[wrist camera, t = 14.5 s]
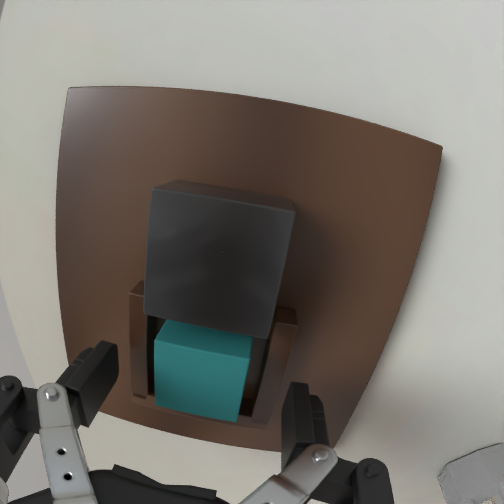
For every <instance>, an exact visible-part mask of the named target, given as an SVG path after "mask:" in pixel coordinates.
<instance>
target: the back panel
mask: <svg viewBox="0 0 504 504" xmlns="http://www.w3.org/2000/svg"><path fill="white" fill-rule="evenodd" d="M442 149H443V147H442V146H441V145H438V144H435V143H433V142H430V141H427V140H424V139H421V138H419V137H416V136H413V135H410V134H407V133H404V132H401V131H398V130H395V129H391V128H388V127H385V126H382V125H378V124H375V123H371V122H368V121H364V120H361V119H357V118H353V117H350V116H346V115H342V114H338V113H334V112H329V111H325V110H321V109H316V108H312V107H307V106H302V105H298V104H293V103H287V102H282V101H277V100H271V99H265V98H259V97H252V96H245V95H238V94H231V93H223V92H214V91H204V90H194V89H181V88H166V87H143V86H91V87H70V88H68V93H67V98H66V104H65V110H64V117H63V124H62V131H61V140H60V149H59V160H58V172H57V190H56V260H57V277H58V290H59V301H60V310H61V319H62V326H63V333H64V340H65V346H66V352H67V358H68V364H69V365H71V363H72V362H73V361H74V359H76V357H77V356H78V355H79V353H80V352H81V351H83V350H85V349H87V348H89V347H91V348H95V346H96V345H97V344H98V343H99V342H100V341H101V340H104V341H107V342H111V343H114V344H116V345H117V347H118V360H119V375H118V379H117V381H116V383H115V384H114V386H113V388H112V389H111V391H110V393H109V394H108V396H107V398H106V399H105V401H104V402H103V404H102V406H101V407H100V409H99V411H100V412H103V413H105V414H108V415H111V416H114V417H117V418H120V419H123V420H127V421H130V422H133V423H136V424H140V425H143V426H147V427H150V428H154V429H157V430H161V431H165V432H169V433H173V434H177V435H181V436H185V437H190V438H194V439H199V440H204V441H209V442H214V443H220V444H225V445H231V446H237V447H244V448H251V449H258V450H266V451H275V452H281V413H282V407H283V403H284V401H285V398H286V395H287V392H288V389H289V386H290V383H291V381H293V382H301V383H308V386H309V393H310V395H318V397H319V398H320V400H321V401H322V403H323V406H324V412H325V413H324V414H325V418H326V420H325V421H326V424H327V430H328V437H329V443H330V447H331V448H332V449H333V448H334V447H335V445H336V443H337V441H338V440H339V438H340V436H341V434H342V433H343V431H344V429H345V427H346V425H347V423H348V422H349V420H350V418H351V416H352V414H353V412H354V410H355V408H356V406H357V404H358V402H359V400H360V398H361V396H362V394H363V392H364V390H365V388H366V386H367V384H368V382H369V380H370V378H371V375H372V373H373V371H374V369H375V367H376V364H377V362H378V360H379V358H380V355H381V353H382V351H383V348H384V346H385V344H386V341H387V339H388V336H389V334H390V332H391V329H392V326H393V324H394V321H395V319H396V316H397V314H398V311H399V308H400V306H401V303H402V300H403V297H404V294H405V292H406V289H407V286H408V283H409V280H410V277H411V274H412V271H413V268H414V264H415V261H416V258H417V255H418V251H419V248H420V245H421V241H422V238H423V234H424V230H425V227H426V223H427V219H428V215H429V211H430V207H431V203H432V199H433V194H434V190H435V185H436V181H437V176H438V171H439V166H440V160H441V155H442ZM167 319H168V320H172V321H177V322H181V323H186V324H191V325H195V326H200V327H205V328H210V329H215V330H220V331H225V332H231V333H236V334H241V335H247V336H253V340H252V349H251V358H250V364H249V369H248V373H247V378H246V383H245V387H244V392H243V396H242V401H241V406H240V410H239V415H238V419H237V422H231V421H225V420H220V419H214V418H209V417H204V416H199V415H195V414H190V413H185V412H181V411H177V410H173V409H169V408H165V407H161V406H157V405H155V386H154V340H155V339H156V337H157V335H158V334H159V332H160V330H161V328H162V327H163V325H164V323H165V322H166V320H167Z"/></svg>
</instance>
